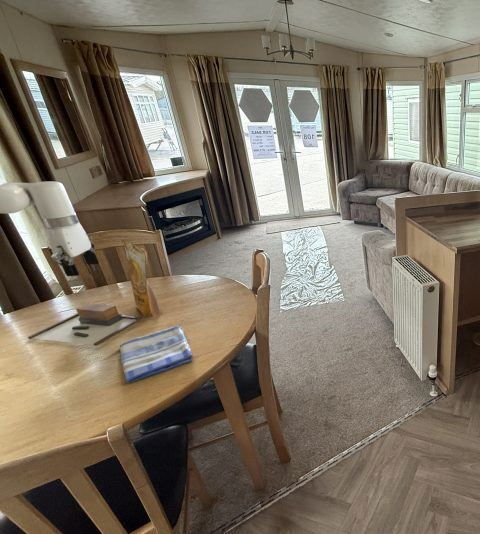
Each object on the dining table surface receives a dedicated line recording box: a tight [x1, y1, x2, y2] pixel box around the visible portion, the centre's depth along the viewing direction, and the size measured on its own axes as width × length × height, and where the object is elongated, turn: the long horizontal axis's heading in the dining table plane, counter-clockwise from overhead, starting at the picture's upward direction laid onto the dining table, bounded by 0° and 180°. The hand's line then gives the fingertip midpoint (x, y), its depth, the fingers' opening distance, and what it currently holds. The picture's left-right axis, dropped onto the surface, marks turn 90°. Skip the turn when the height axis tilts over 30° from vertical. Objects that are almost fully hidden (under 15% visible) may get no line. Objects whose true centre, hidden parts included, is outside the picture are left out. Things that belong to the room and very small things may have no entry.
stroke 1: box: [72, 326, 89, 330], centre depth 120 cm, size 5×1×1 cm, turn 91°
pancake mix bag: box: [121, 239, 160, 317], centre depth 129 cm, size 7×19×28 cm, turn 51°
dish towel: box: [119, 325, 194, 384], centre depth 110 cm, size 17×24×3 cm
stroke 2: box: [74, 332, 89, 338], centre depth 117 cm, size 5×1×1 cm, turn 77°
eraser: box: [75, 302, 123, 326], centre depth 124 cm, size 12×5×6 cm, turn 83°
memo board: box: [27, 312, 144, 347], centre depth 121 cm, size 26×17×2 cm, turn 83°
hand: (83, 269), depth 115 cm, fingers open, 9 cm apart
